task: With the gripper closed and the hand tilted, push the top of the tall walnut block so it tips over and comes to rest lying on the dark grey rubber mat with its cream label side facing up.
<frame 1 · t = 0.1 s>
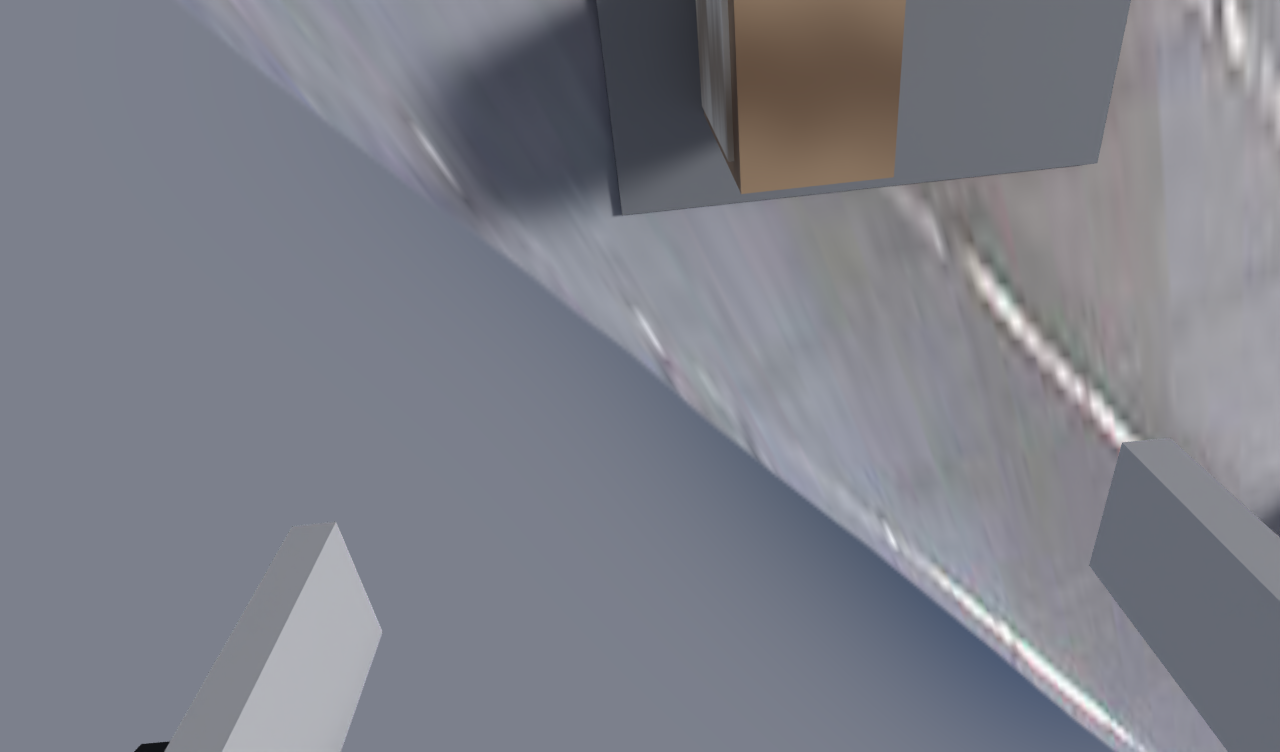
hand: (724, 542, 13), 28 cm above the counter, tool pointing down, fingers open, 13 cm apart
mat: (861, 15, 34), on the counter
label block: (754, 28, 34), resting on mat
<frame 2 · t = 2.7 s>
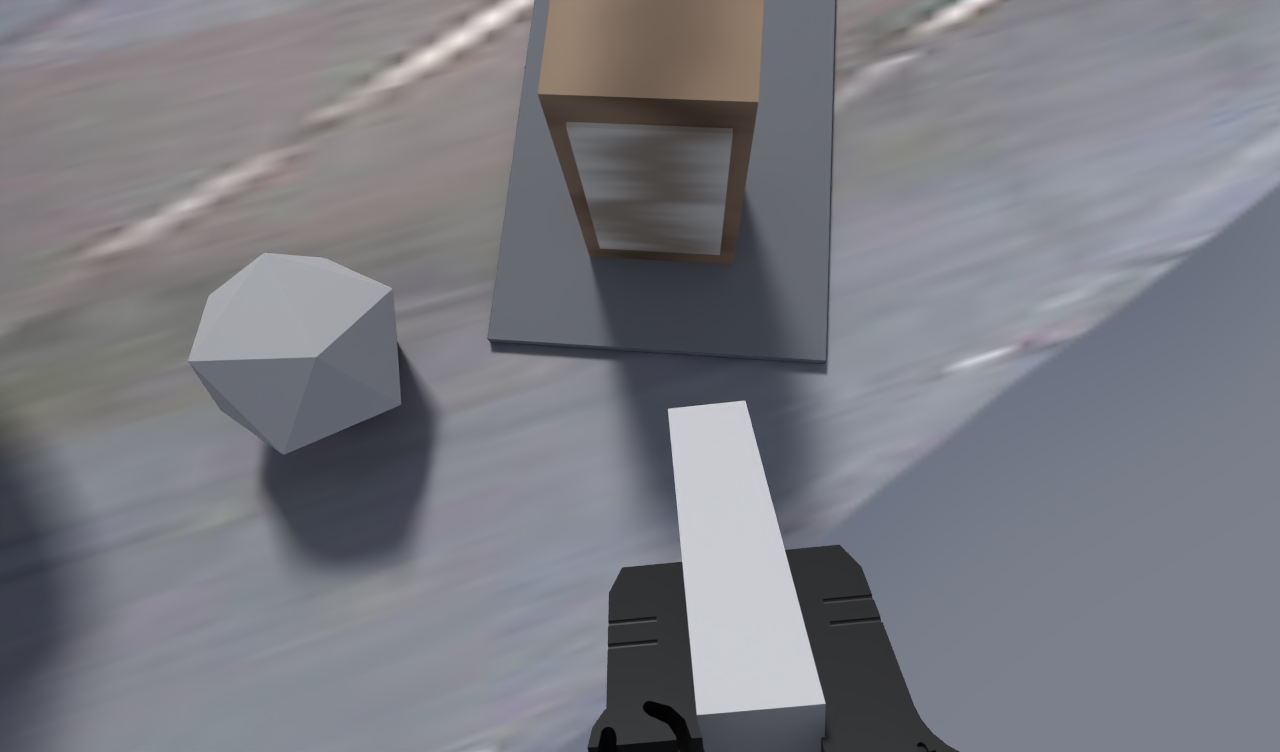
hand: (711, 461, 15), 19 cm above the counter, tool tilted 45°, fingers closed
mat: (672, 129, 38), on the counter
die: (346, 373, 36), on the counter
label block: (664, 213, 37), resting on mat
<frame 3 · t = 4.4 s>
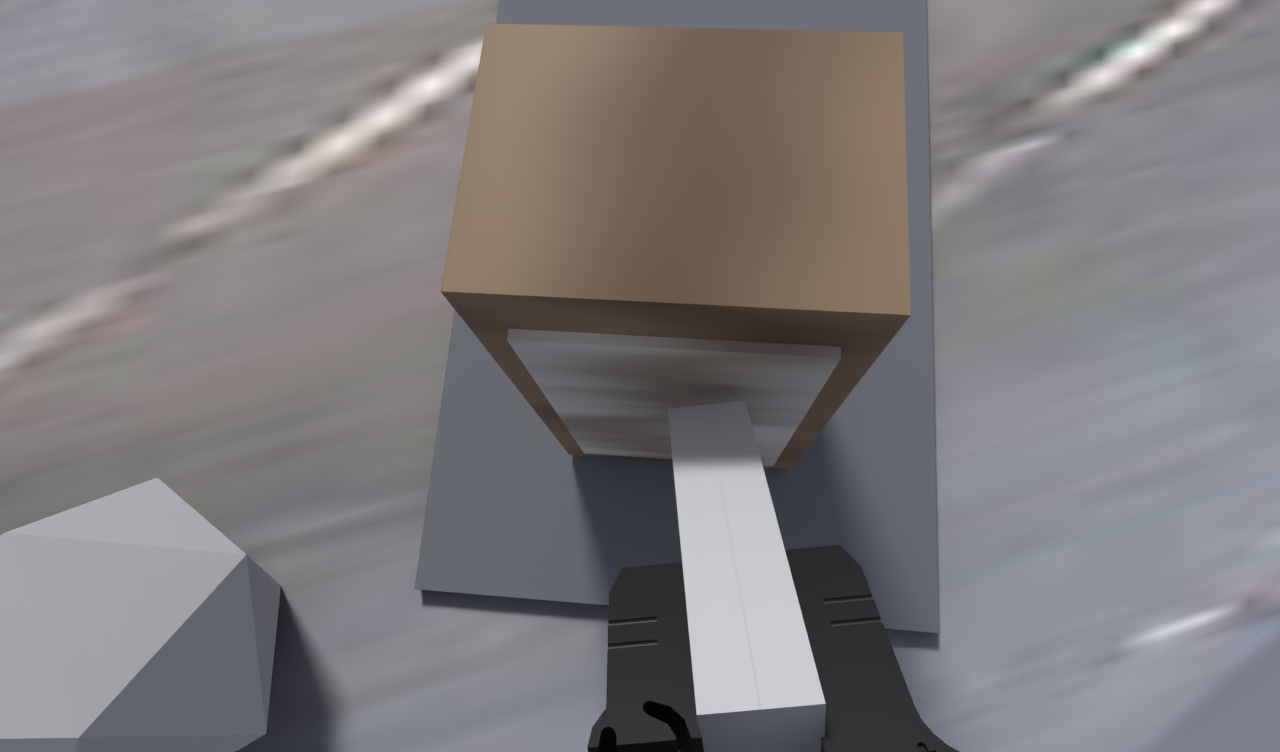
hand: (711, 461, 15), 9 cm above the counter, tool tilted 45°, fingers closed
mat: (692, 252, 26), on the counter
die: (204, 634, 24), on the counter
label block: (683, 386, 24), point 1 cm above the counter, touching gripper, mat
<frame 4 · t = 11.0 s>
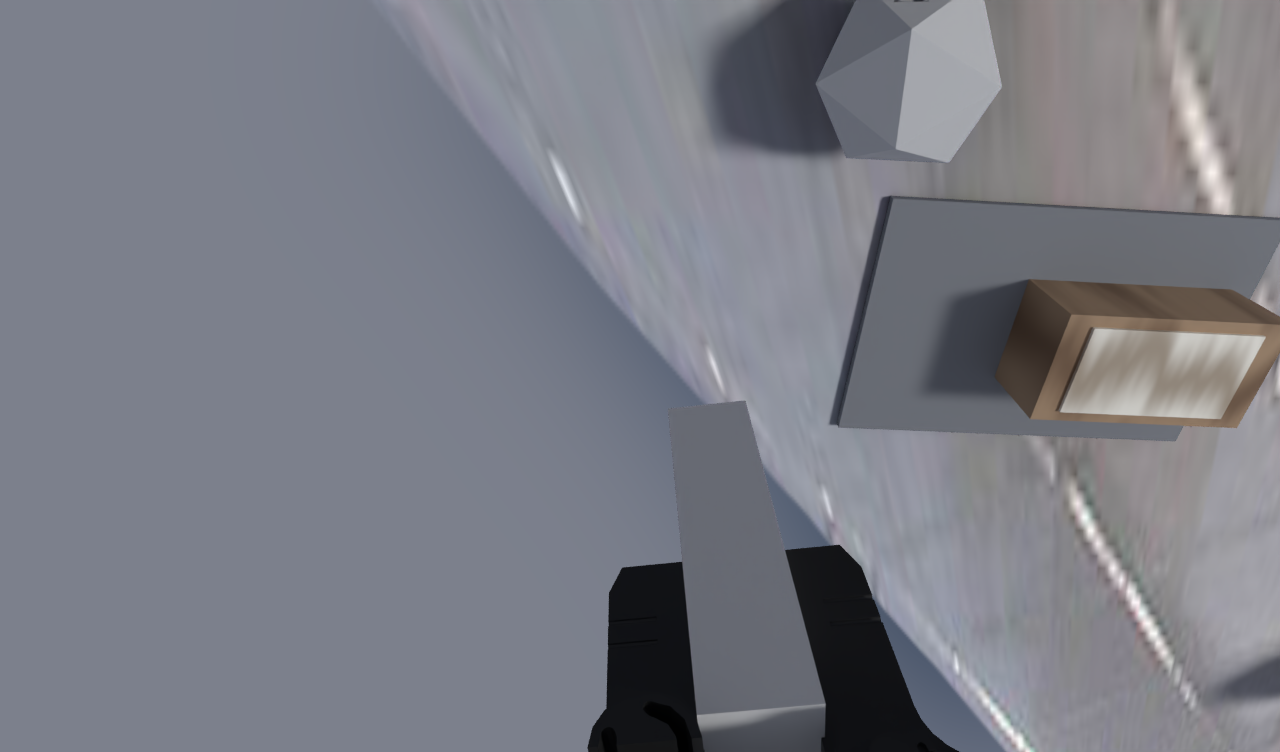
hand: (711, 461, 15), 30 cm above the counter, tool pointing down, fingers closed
mat: (1044, 328, 48), on the counter
die: (883, 64, 40), on the counter
label block: (1029, 348, 45), point 3 cm above the counter, tilted 90°, touching mat
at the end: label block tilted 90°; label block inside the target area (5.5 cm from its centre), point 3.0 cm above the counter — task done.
